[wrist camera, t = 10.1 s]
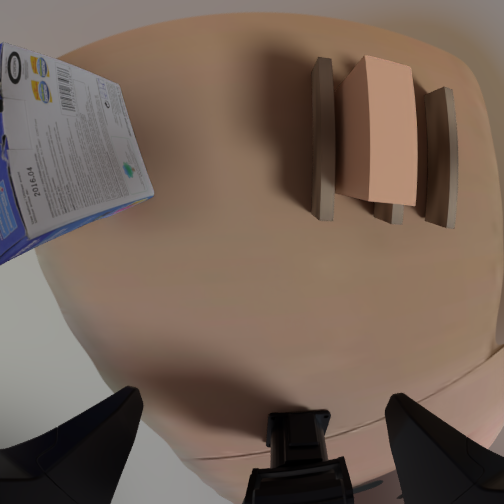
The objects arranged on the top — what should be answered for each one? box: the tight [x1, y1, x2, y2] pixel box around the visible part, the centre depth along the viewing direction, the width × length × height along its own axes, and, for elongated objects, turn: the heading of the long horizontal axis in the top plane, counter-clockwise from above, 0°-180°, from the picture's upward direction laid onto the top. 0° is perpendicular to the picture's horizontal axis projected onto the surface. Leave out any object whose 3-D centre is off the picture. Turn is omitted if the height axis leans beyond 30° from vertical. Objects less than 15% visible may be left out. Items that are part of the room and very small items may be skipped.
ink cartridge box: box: [0, 42, 154, 265], centre depth 10 cm, size 10×6×14 cm, turn 19°
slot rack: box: [311, 57, 458, 229], centre depth 15 cm, size 10×10×3 cm
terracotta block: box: [334, 55, 418, 206], centre depth 13 cm, size 7×2×7 cm, turn 179°
